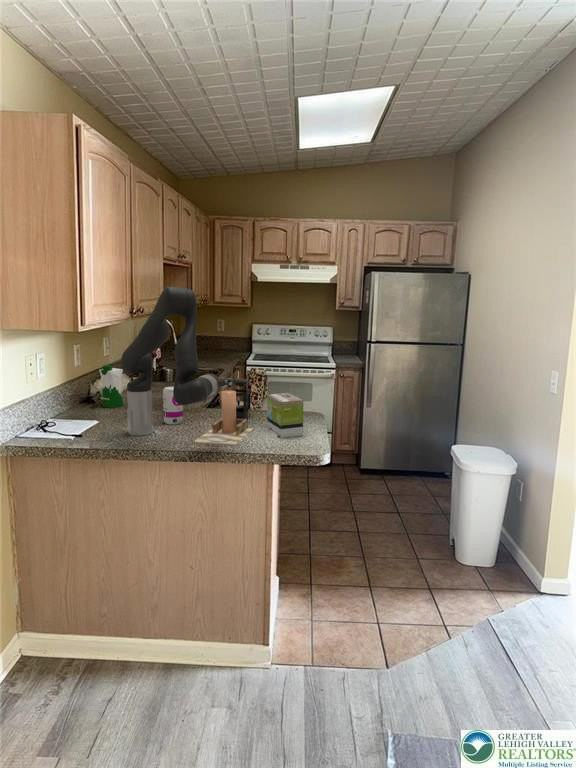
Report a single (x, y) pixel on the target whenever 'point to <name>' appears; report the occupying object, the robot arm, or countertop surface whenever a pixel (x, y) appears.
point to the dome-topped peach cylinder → (229, 411)
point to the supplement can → (171, 408)
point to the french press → (243, 412)
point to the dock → (225, 438)
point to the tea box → (285, 414)
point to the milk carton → (111, 387)
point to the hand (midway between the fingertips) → (220, 380)
